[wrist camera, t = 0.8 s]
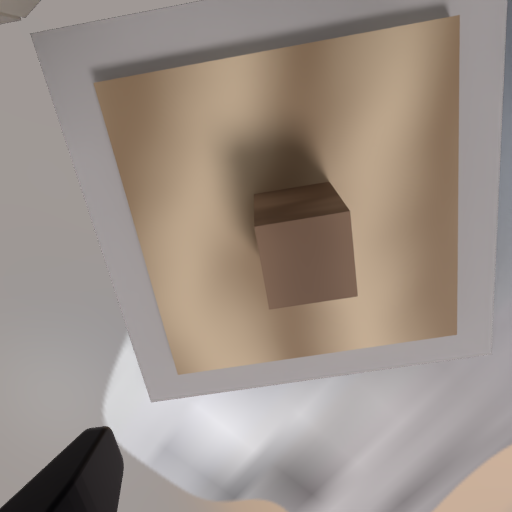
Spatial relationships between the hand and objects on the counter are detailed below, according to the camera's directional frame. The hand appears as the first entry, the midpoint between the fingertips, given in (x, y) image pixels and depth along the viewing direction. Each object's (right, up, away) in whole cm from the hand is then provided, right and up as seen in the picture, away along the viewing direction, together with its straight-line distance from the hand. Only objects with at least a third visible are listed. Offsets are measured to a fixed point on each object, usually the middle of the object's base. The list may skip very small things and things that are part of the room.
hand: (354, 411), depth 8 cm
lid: (0, +4, +11) cm, 12 cm away
